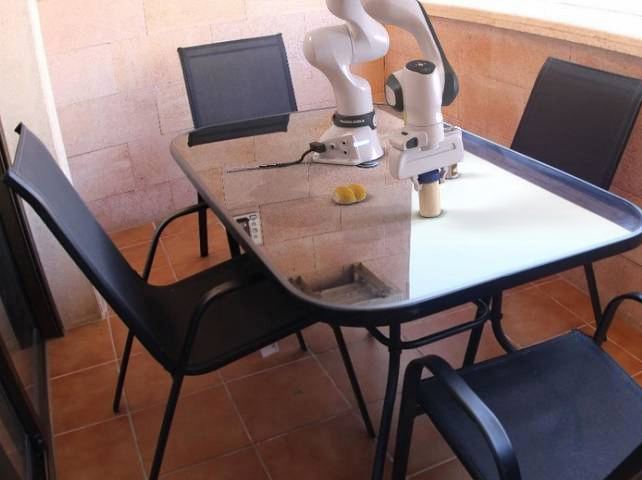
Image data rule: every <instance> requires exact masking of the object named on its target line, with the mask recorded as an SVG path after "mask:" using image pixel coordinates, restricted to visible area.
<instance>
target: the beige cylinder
mask: <svg viewBox="0 0 642 480" xmlns="http://www.w3.org/2000/svg"><path fill="white" fill-rule="evenodd" d="M418 182H419V181H418ZM420 183H422V188H423V190H421V191H417V193H418V206H419V214H420V216H422V217H424V218H433V217H437V216H439V215H440V214H441V212H442V210H441V195H440V194H441V193H440V184H439V180H437V181H435V182H430V183H423V182H420Z"/></svg>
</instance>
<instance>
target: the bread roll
mask: <svg viewBox="0 0 642 480" xmlns="http://www.w3.org/2000/svg"><path fill="white" fill-rule="evenodd" d="M366 197H367V190H366V189H365V187H364V186H362V184H360V183H351V184H347V185H342V186H341V185H340V186H337V187H336V188H335V189H334V190H333V193H332V199H333V201H334V202H335V203H337V204H339V205H351V204H354V203H356V202H358V203H359V202H362V201H364V200H365V199H366Z"/></svg>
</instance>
